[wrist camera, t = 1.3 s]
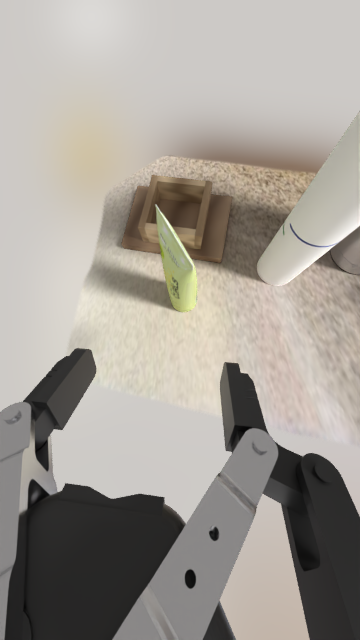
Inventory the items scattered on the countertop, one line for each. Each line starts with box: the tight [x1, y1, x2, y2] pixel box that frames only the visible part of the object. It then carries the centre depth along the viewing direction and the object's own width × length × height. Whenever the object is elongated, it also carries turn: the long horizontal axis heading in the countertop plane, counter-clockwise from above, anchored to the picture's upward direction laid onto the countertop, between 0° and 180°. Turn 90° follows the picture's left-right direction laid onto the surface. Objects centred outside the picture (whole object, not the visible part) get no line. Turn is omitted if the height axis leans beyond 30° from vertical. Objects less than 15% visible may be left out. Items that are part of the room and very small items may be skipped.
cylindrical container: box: [257, 111, 360, 286], centre depth 24 cm, size 7×7×25 cm
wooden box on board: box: [121, 175, 232, 263], centre depth 37 cm, size 20×14×6 cm
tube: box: [155, 204, 197, 312], centre depth 27 cm, size 6×5×20 cm
